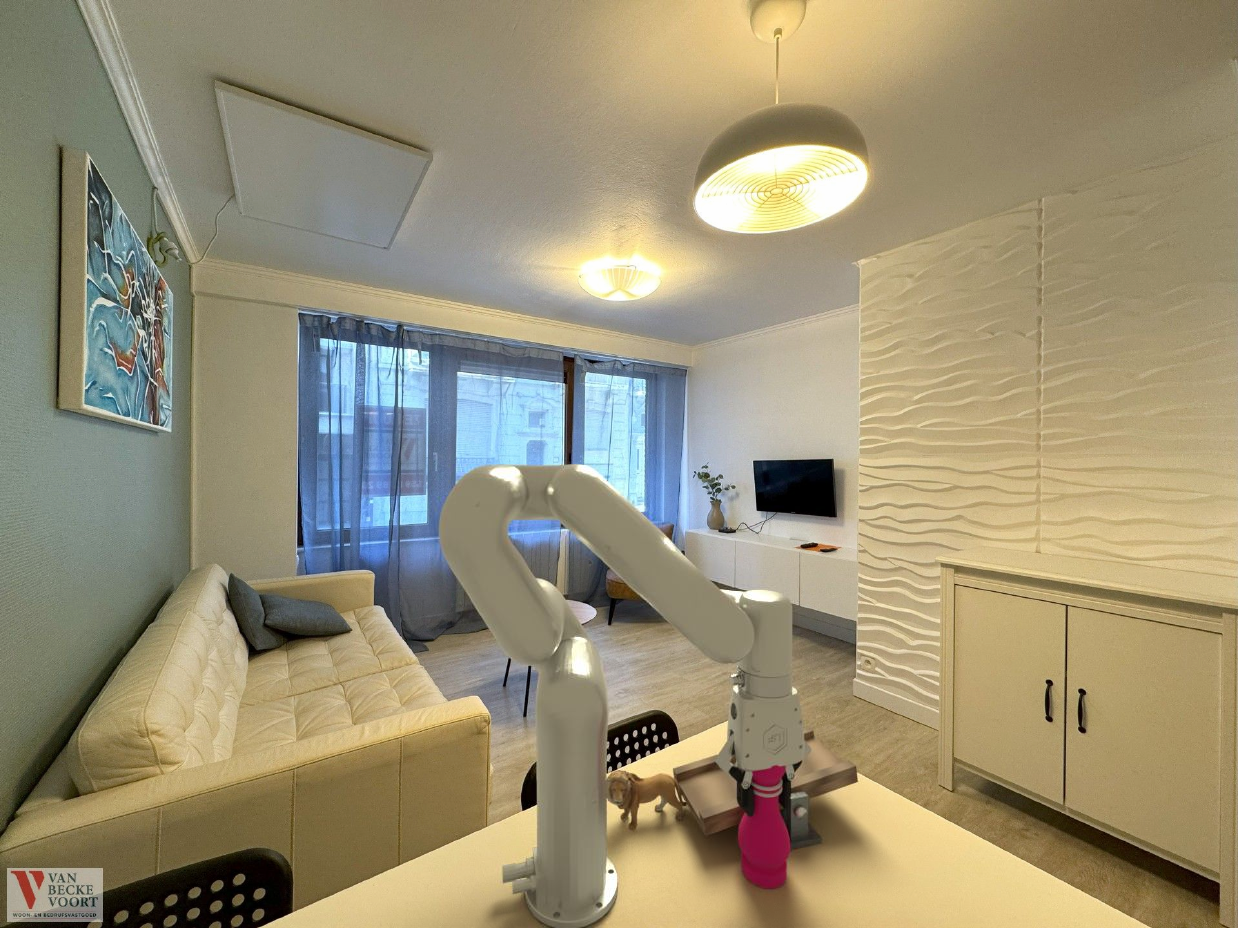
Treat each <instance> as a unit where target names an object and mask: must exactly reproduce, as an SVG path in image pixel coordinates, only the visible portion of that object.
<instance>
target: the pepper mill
mask: <svg viewBox="0 0 1238 928" xmlns="http://www.w3.org/2000/svg"><path fill="white" fill-rule="evenodd" d="M785 771H786V766H778V765H774V766H772V767H771V768H768V769H764V770H758V771H752V774H753V775H752V779H751V783H750V785H751V786H752V787H753V789H754V815H753V816H751V817H748V815H747V814H746V813H745V814H744V815H743V817H742V819H741V822H740V824H739V825H738V832H737V842H738V846H739V848H740V851H741V856H740V859H741V860H740V866H741V871H742V873H743V875H744V877H746V879H747V880H748V881H749V882H751V884H754V885H755V886H757V887H759V888H764V889H770V890H772V889H776V888H779V887H781V886H782V885H784V884H785V882H786V880H787V878H788V877H787V876H788V874H787V873H788V871H787V870H788V866H787V865H788V864H787V860H788V858H789V857H790V854H791V850H790V838H789V834H788V830H787V828H786V825H785V823H784V821H783V819H782V816H781V814H780V810H779V804H778V798H779V794H780V793H781V792H782V776H783V775H784V773H785Z"/></svg>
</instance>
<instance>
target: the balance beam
mask: <svg viewBox="0 0 1238 928" xmlns="http://www.w3.org/2000/svg"><path fill="white" fill-rule="evenodd" d="M803 729H804V740H805V741H806V742H807V744H808V745H809V746H810V747H811V752H810V753H809V755H808V756H807V757H806V758H805V759H804V760H802V764H801V765H800V766H799V768H798V769H797V770H796V772H795V778H794V779H793V780H791V793H795V792H800V791H804V792H805V793H806V794H807V795H808V801H809V800H811V799H815V798H817V797H820V796H822V795H825V794H828V793H831V792H833V791H837V790H839V789H842V788H845V787H847V786H850V785H851V786H852V785H853V784H856V783H859V781H858V780H859V779H858V771H857V769H858V768H857V766H856V764H854V762H853V761H851V760H850V759H849V760H846V761H843V760H842V758H840V757H839V756H838V755H836V754H835V753H834V752H832V750H831V749H829V748H828V747H827V746H826V745H825V744H823V743H822V742H821V741H819V739H817V738H816V737H815V733H814V731H815V730H813V728H811V727H810V726H805V727H804V726H803ZM717 755H718V754H714V755H711V756H708V757H706V758H702V759H698V760H696V761H692V762H689V763H686V764H684V765H683V764H682V765H680V766H679V765H678V766H677V767H673V768H672V771H673V772H672V774H673V778H674V779H675V780H676V781H677V783H678V785H679V787H680V790H681V795H682V799H683V801H684V802H686V804H687V805H686V806H687V807H688V809H689V810H690V812H691V813H692V816H693V817H694V819H695V820H696V822H697V824H698V826H699V827H700V829H701V831H702V832H703V834H704V836H705V837H706V836H707V837H708V836H711V835H712V834H715V833H718V832H721V831H723V830H726V829H729V828H733V827H735V826H739V825H740V822H741V819H742V817H743V815H744V814H745V811H744V810H743V809H742V808H741V807H740V806H739V804H738V802H737V781H736V780H735V779H734V778H733V777H732V776H731V775H730V774H728V773H727V772H725V771H724V770H722V769H721V768H720V767H719V766H718V765H717V763H716V762H715V759H716V757H717ZM736 760H737V759H736V756H735V755H734V756H733V757H732V759H731V760H730V762H731V763H733V764H734V765H735V764H736ZM743 771H744V770H743ZM778 804H779V810H780V809H783V807H782V805H781V804H780V803H779V802H778Z"/></svg>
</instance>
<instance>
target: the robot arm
mask: <svg viewBox="0 0 1238 928" xmlns="http://www.w3.org/2000/svg"><path fill="white" fill-rule="evenodd" d="M548 520H550V521H553V520H557V521H558V522H559V523H560V524H561V525H562V526H563V527H564V528H565V529H566V530H568V531H569V532H570V533H571V534H572V535H573V536H574V537H575V538H577V540H578V541H580V542H581V543H582V544H583V545H584V546H586V547H587V548H588V549H589V550H590V551H591V552H592V553H593V554H594V555H596V556H597V558H599V559H600V560H601V561H602V562H603V563H604V564H605V565H607V567H609V569H611V570H612V571H613V572H614V573H615V574H616V575H617V576H618V577H619V578H620V579H621V580H622V581H624V583H625V584H626V585H627V586H628V587H629V588H630V589H631V590H632V591H633V592H634V593H635V594H637V595H638V596H640V598H642V599H643V600H645V601H646V603H648V604H649V605H650V606H651V607H652V609H654V610H655V611H657V613H658V614H660V615H661V617H663V619H664V620H666V621H667V623H669V625H671V626H672V627H673V628H674V629H675V630H676V631H677V632H678V633H680V634H681V635H682V636H683V637H684V638H685V639H686V640H687V641H688V642H689V643H690V644H691V645H692V646H694V647H695V648H696V649H697V650H698V651H699V652H700V653H702V654H703V655H704V656H705V657H706V658H708V660H711V661H713V662H715V663H719V664H721V665H731V664H732V665H733V664H736V663H737V664H736V668H735V670H736V671H735V673H734V674H730V675H729V678H728V681H729V684H730V685H731V686H733V688H732V693H731V697H730V701H729V702H730V703H729V708H728V709H729V710H728V717H727V718H728V719H727V729H726V730H727V731H726V733H727V735H726V736H727V737H726V742H725V744H724V745H723V746H722V748H721V749H720V751H719V752H718V754H716V755H717V757H716V759H715V762H716V763H717V765H718V766H719V767H720V768H721V769H722V770H724V771H725V772H727V773H728V774H730V775H731V776H732V777H733V778H734V779H735V780H736V781H737V802H738V804H739V806H740V807H741V808H742V809H743V810H744V811H745V813H746V814H747V815H748V817H751V816H753V815H754V789H753V787H752V786H751V785H750V783H751V779H752V775H753V774H752V771H758V770H764V769H768V768H771V767H772V766H774V765H778V766H786V771H785V773H784V775H783V776H782V792H781V793H780V794H779V798H778V802H779V803H780V804H781V805H782V807H783V808H784V809H790V798H791V780H793V779H794V778H795V772H796V770H797V769H798V768H799V766H800V765H801V764H802V760H804V759H805V758H806V757H807V756H808V755H809V753H810V752H811V747H810V746H809V745H808V744H807V742H806V741H805V740H804V729H803V728H804V721H803V713H802V707H801V702H800V698H799V697H800V696H799V694H798V693H799V692H798V690H797V688H795V687H794V686H793V604H792V602H791V599H790V598H789V597H788V595H786V594H784V593H781V592H778V591H775V590H770V589H751V590H746V591H738V590H737V591H736V590H728V589H720V588H719V587H718V586H717V585H716V584H715V583H714V582H712V580H711V579H709V578H708V577H707V576H706V575H705V574H704V573H703V572H702V571H701V570H700V569H698V567H697V566H696V565H695V564H693V562H692V561H691V560H689V559H688V558H687V557H686V556H685V555H684V554H683V552H682V551H681V550H680V549H679V548H678V547H677V546H676V544H675V543H674V542H673V541H672V540H671V539H670V538H669V537H668V536H667V535H666V534H665V533H664V532H663V531H662V530H661V529H660V528H659V527H658V526H656V525H655V523H653V522H652V521H651V520H650V519H649V518H648V517H647V516H646V515H645V514H643V513H642V512H641V511H640V510H639V509H638V508H637V507H635V505H634V504H632V503H631V501H629V500H628V499H627V498H626V497H625V496H624V495H623V494H621V492H619V490H618V489H616V488H615V487H614V486H613V485H612V484H611V483H610V482H609V481H607V480H606V478H604V477H603V476H602V475H601V474H600V473H599V472H598V471H597V470H595V469H594V468H592V467H590V466H588V465H586V464H585V465H584V464H578V463H574V464H573V463H571V464H556V465H555V464H553V465H551V464H549V465H547V464H545V465H541V464H540V465H539V464H537V465H536V464H532V465H531V464H526V465H525V464H487V465H482V466H477V467H475V468H473V469H471V470H469V471H468V472H467V473H465V474H464V475H463V476H462V477H461V478H460V479H459V480H458V481H457V482H456V483H455V485H454V486H453V487H452V489H451V490H450V492H449V494H448V496H447V498H446V500H445V501H444V504H443V506H442V509H441V511H440V516H439V520H438V521H439V522H438V539H439V543H440V547H441V548H440V549H441V552H442V554H443V556H444V558H445V561H446V563H447V565H448V566H449V569H450V570H451V571H452V573H453V575H454V576H455V578H456V579H457V581H458V582H459V583H460V585H461V587H462V588H463V590H464V591H465V593H466V594H467V596H468V597H469V599H470V601H471V603H472V605H473V606H474V608H475V609H476V611H477V612H478V614H479V616H480V617H481V618H482V620H483V622H484V623H485V625H486V626H487V628H488V629H489V631H490V633H491V634H492V635H493V638H494V639H495V640H496V642H497V643H498V645H499V647H500V648H501V650H502V651H503V653H504V654H505V656H507V657H508V658H509V659H511V661H513V662H515V663H516V664H519V665H522V666H527V667H529V666H533V667H534V668H535V669H536V672H537V673H538V677H537V684H536V685H537V686H536V694H535V695H536V696H535V709H534V710H535V714H534V715H535V719H534V720H535V739H536V741H535V742H536V847H535V846H534V847H533V848H532V856H531V857H527V858H526V857H525V861H522V862H518V863H510V864H503V865H502V868H501V870H502V871H501V873H502V874H501V875H502V884H507V883H511V885H512V886H511V887H512V895H516V894H520V893H523V892H524V893H525V896H524V897H525V902H526V905H527V907H528V910H529V911H530V913H531V914H532V916H533V917H535V918H536V919H537V920H538V921H539V922H541V923H543V924H545V925H546V926H549V927H552V928H584V927H586V926H590V925H591V924H594V923H595V922H597V921H598V920H600V919H601V918H603V917H604V916H605V915H606V914H607V913H608V912H609V910H610V909H611V908H612V907H613V905H614V903H615V901H616V899H617V896H618V890H619V878H618V872H617V870H616V866H615V865H614V864H613V862H612V860H611V859H610V858H609V857H608V854H607V850H608V849H607V848H608V844H607V843H608V841H607V840H608V839H607V837H608V836H607V835H608V831H607V830H608V829H607V827H608V825H607V823H608V820H607V819H608V818H607V817H608V814H607V813H608V810H607V808H608V803H607V802H608V799H607V778H608V774H607V755H608V754H607V752H608V751H607V746H608V728H609V713H610V712H609V711H610V710H609V709H610V706H609V702H610V701H609V692H608V685H607V681H606V675H605V672H604V666H603V663H602V659H601V658H602V657H601V655H600V653H599V650H598V648H597V647H596V645H595V644H594V642H593V640H592V638H591V637H590V634H588V633H587V630H586V629H585V627H584V626H583V625H582V623H581V621H580V620H579V618H578V617H577V615H576V613H575V612H574V611H573V609H572V608H571V606H570V604H569V603H568V601H567V600H566V598H565V596H564V595H563V594H562V593H561V591H560V590H559V589H558V588H557V587H556V586H555V584H552V583H551V582H549V581H548V580H545V579H543V578H538V577H535V576H534V574H533V572H532V571H531V569H530V568H529V566H528V564H527V562H526V561H525V559H524V557H523V556H522V554H521V553H520V552H519V550H518V549H517V548H516V546H514V544H513V542H512V540H511V538H510V535H509V525H510V524H511V522H512V521H548ZM734 755H735V756H736V759H737V760H736V764H735V765H734V764H733V763H731V762H730V760H731V759H732V757H733V756H734ZM743 770H744V771H743Z"/></svg>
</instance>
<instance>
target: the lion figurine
mask: <svg viewBox="0 0 1238 928" xmlns="http://www.w3.org/2000/svg"><path fill="white" fill-rule="evenodd" d="M659 796H660V797H659ZM658 797H659V798H660V800H661V801H660V803H659V804H655V806H654V809H655V811H656V812H660V811H662V810H663V809H664V807H666V805H667V804H668V805H669V806H671V807H673V808H675V809H676V810H677V811H678V812H676V813H675V816H674V817H675V819H676V820H678V821H681V820H683V818H684V807H687V806H688V805H687V804H686V802H685V801H684V800H683V797H682V795H681V790H680V787H679V785H678V783H677V781H676V780H675V779H674V776H672V775H669V774H666V773H662V772H660V773H657V774H655V775H653V776H650V777H649V776H648V777H644V778H643V777H642V778H641V777H639V776H638V774H636V773H633V772H629V771H626V770H620V769H618V770H614V771H612V772H611V773H610V774H609V775H607V802H609V803H610V804H612V805H615V806H617V808H618V810H619V809H620V810H623V812H621V814H620V819H621V820H627V819H628V818H629V815H630V816H631V820H630V822H629V823H628V829H629V830H632V831H635V830H636V829H637V827H638V813H639V812H638V811H639V808H640V805H641V804H643V805H644V804H648V803H652V802H653V801H655V800H656V799H657V798H658Z"/></svg>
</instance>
